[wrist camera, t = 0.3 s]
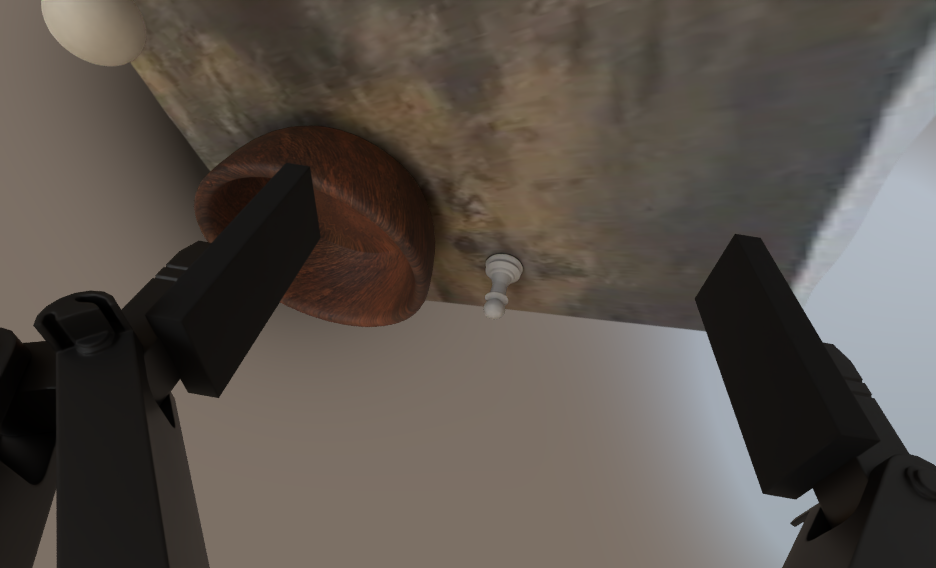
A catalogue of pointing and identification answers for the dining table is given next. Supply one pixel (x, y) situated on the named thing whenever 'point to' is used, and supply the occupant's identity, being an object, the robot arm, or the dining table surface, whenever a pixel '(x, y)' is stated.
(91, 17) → the lever
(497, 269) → the chess piece
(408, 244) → the wooden bowl
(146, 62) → the dining table surface
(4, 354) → the robot arm
